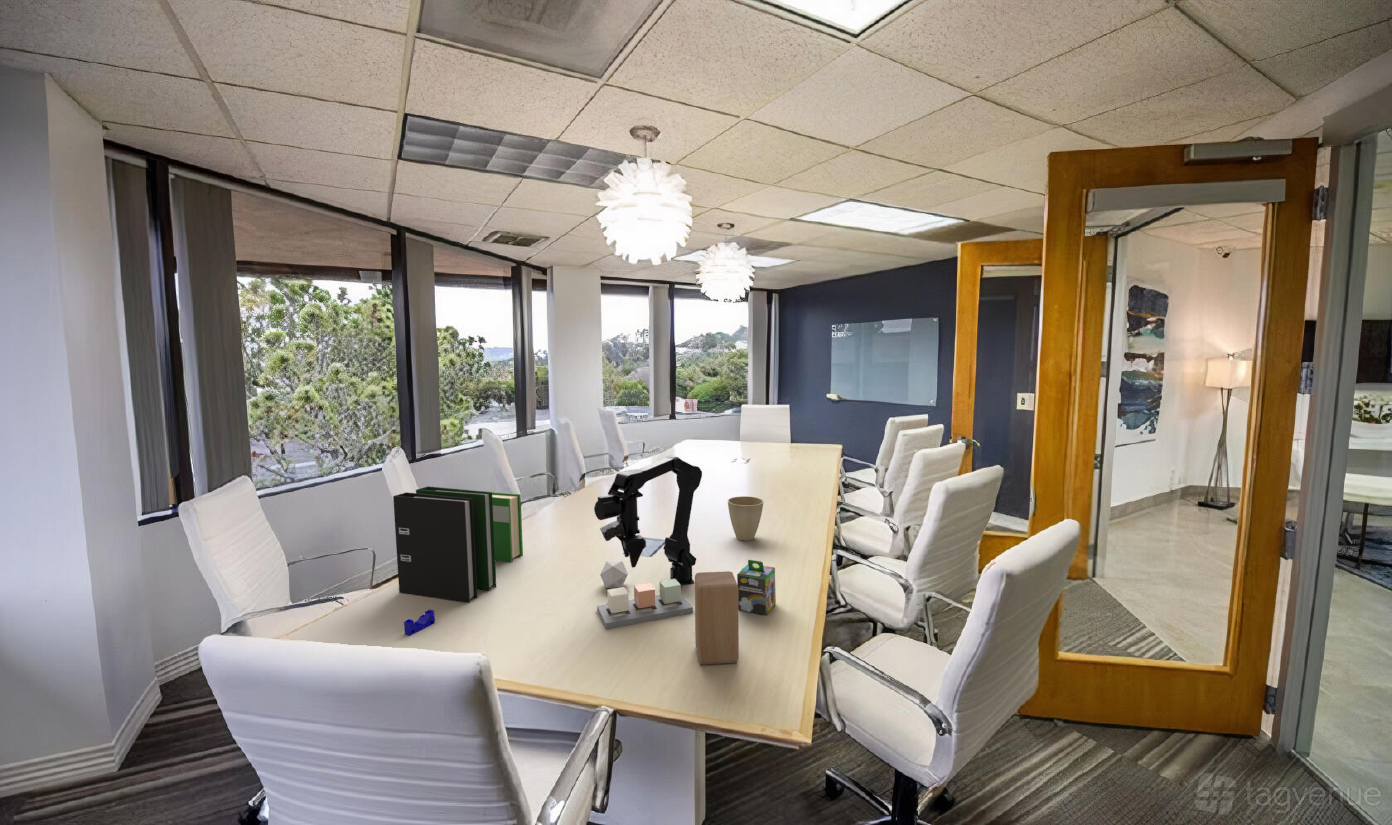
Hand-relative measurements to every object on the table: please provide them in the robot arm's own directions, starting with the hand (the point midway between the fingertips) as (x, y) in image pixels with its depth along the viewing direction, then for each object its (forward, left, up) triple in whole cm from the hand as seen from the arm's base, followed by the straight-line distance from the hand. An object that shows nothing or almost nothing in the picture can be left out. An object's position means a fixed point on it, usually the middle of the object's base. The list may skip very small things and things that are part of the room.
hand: (630, 561), depth 171 cm
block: (-12, +40, -12) cm, 43 cm away
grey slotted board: (-2, +10, -12) cm, 16 cm away
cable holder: (+60, -5, -13) cm, 61 cm away
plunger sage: (-10, +10, -10) cm, 17 cm away
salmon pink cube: (-2, +10, -9) cm, 14 cm away
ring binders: (+53, -30, -12) cm, 62 cm away
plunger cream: (+6, +10, -9) cm, 15 cm away
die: (+2, -12, -12) cm, 17 cm away
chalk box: (-34, +20, -12) cm, 41 cm away
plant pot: (-60, -39, -12) cm, 72 cm away
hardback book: (+37, -57, -12) cm, 69 cm away
